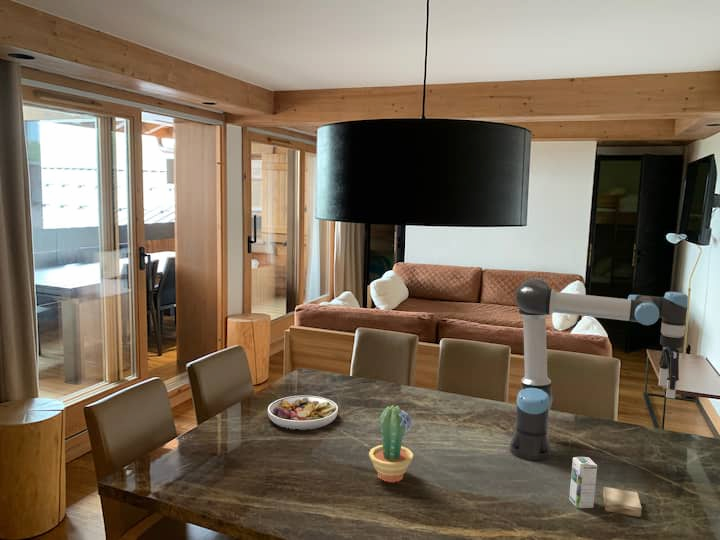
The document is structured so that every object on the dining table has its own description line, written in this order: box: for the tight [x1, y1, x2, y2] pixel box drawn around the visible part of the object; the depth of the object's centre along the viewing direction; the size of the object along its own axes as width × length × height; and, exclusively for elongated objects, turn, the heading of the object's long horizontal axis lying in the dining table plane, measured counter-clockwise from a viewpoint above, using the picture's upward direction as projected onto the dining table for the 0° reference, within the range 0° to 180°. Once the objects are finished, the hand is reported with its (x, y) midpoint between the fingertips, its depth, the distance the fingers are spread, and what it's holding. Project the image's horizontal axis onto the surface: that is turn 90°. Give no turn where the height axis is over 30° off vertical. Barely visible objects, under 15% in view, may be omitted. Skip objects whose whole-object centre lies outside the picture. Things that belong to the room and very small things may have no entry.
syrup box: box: [568, 456, 598, 509], centre depth 182 cm, size 6×6×14 cm
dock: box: [602, 486, 643, 518], centre depth 182 cm, size 10×10×3 cm
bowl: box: [267, 395, 339, 431], centre depth 247 cm, size 30×30×8 cm
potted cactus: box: [368, 404, 414, 483], centre depth 197 cm, size 15×15×25 cm
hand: (666, 391), depth 211 cm, fingers open, 13 cm apart
